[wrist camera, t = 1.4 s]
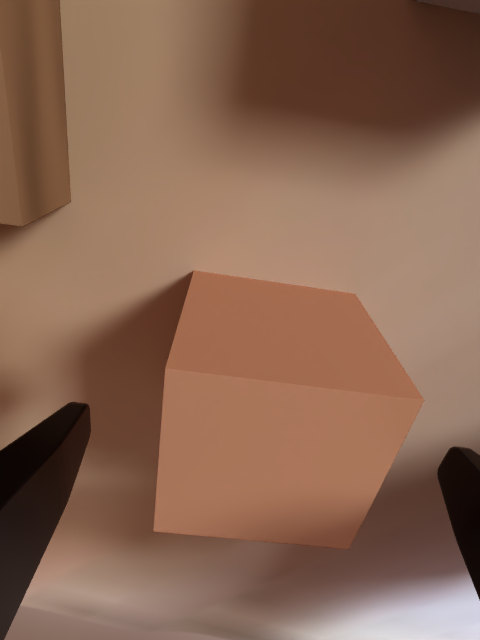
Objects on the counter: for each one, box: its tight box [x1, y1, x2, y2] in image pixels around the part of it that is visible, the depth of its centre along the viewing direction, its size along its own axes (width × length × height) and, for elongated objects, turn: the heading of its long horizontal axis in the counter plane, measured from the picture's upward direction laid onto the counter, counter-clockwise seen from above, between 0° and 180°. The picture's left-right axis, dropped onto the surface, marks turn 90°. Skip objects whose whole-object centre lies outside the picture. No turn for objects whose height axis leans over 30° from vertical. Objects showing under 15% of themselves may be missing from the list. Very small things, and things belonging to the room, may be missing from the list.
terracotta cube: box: [153, 271, 424, 549], centre depth 10 cm, size 5×5×5 cm
